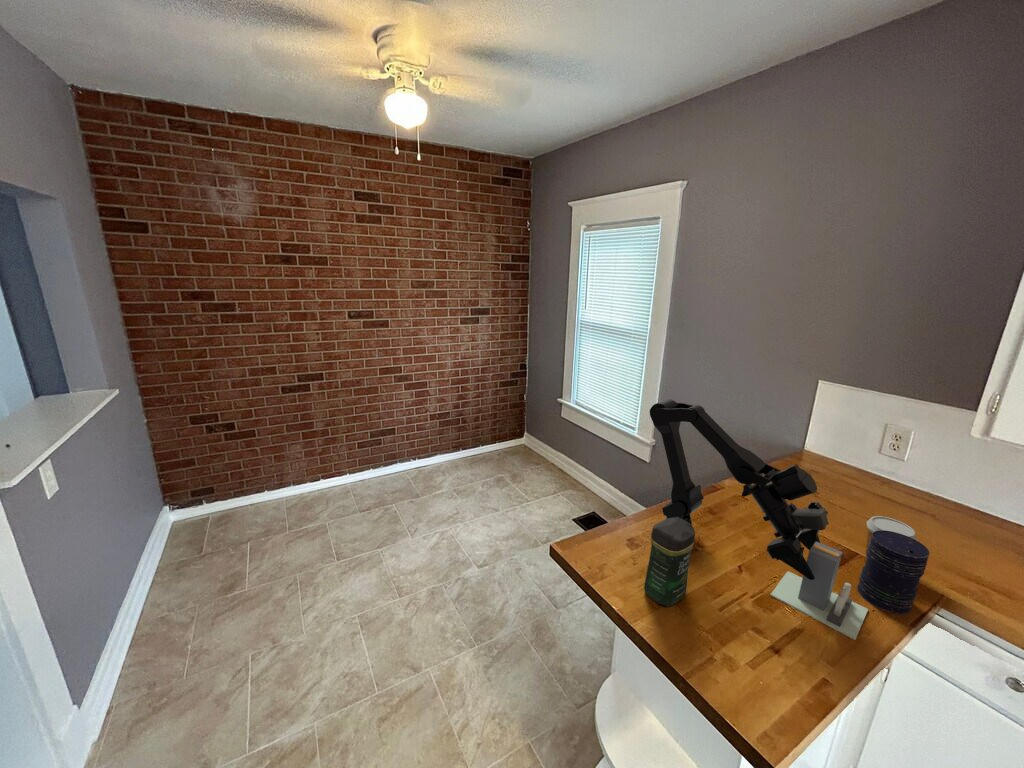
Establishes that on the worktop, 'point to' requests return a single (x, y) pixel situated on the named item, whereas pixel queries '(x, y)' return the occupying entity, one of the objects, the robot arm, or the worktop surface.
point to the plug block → (820, 575)
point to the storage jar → (892, 571)
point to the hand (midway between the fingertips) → (818, 569)
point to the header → (837, 611)
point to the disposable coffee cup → (887, 528)
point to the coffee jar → (669, 560)
